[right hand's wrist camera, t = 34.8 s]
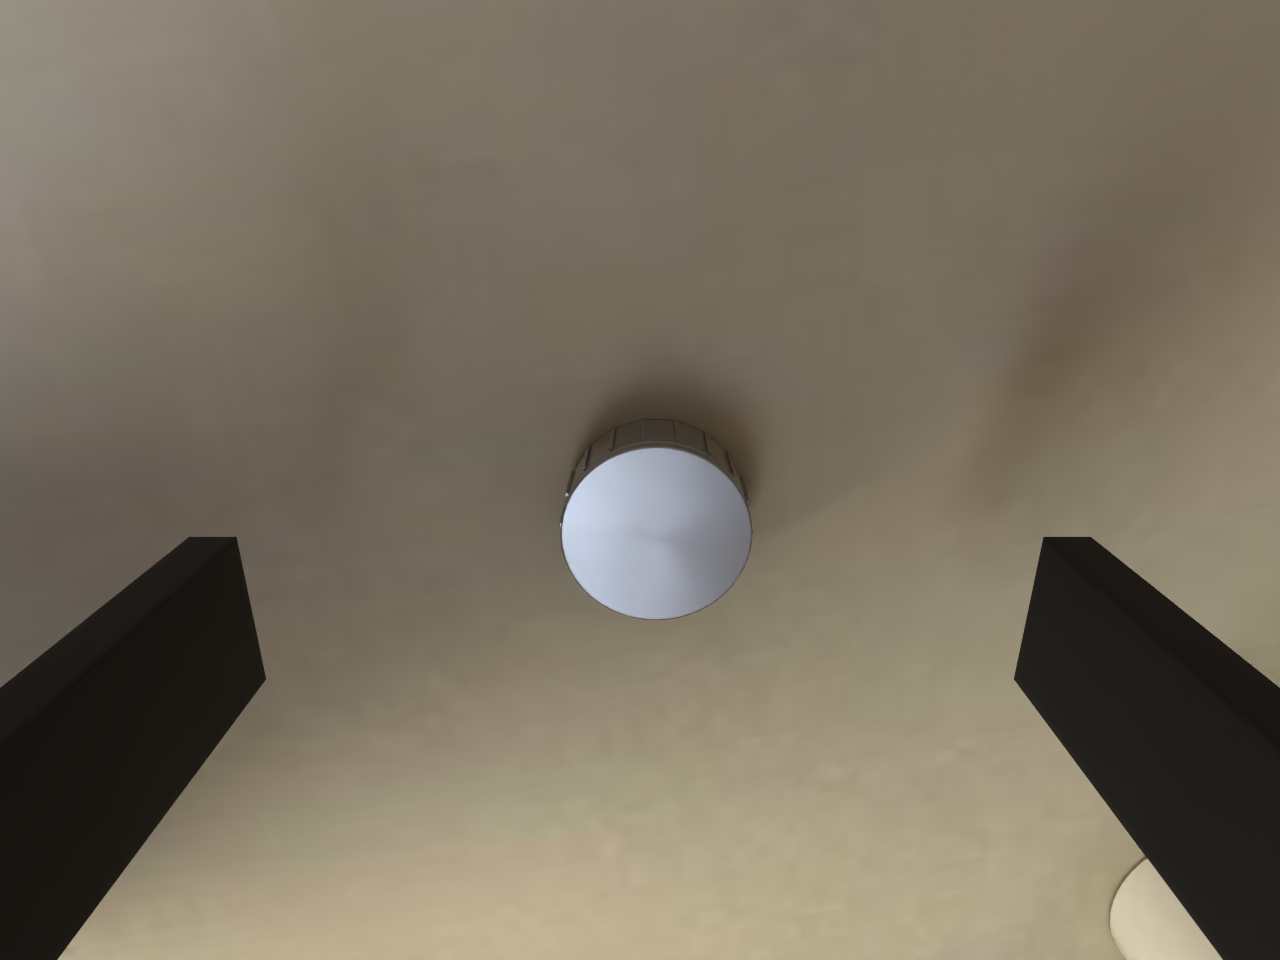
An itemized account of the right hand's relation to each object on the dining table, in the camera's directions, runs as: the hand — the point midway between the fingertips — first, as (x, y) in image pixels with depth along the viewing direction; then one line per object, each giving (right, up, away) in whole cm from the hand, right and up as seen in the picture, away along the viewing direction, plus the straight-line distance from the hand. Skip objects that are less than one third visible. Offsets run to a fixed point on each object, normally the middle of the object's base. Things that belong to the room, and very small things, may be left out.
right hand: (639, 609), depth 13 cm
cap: (0, +1, +3) cm, 3 cm away
